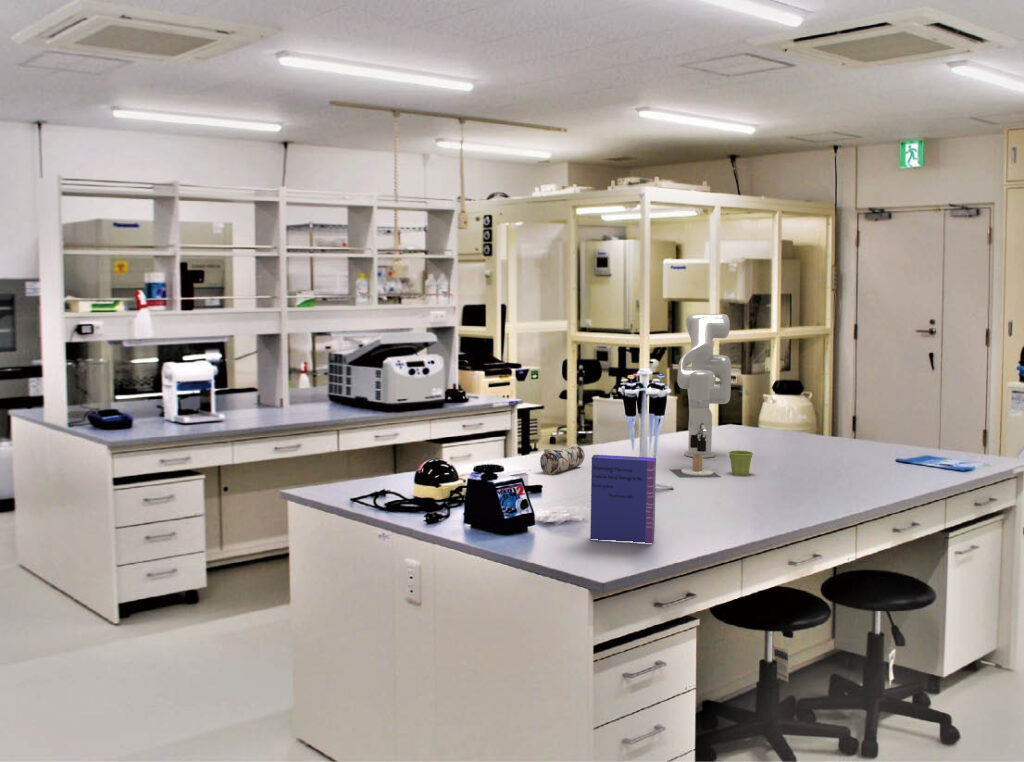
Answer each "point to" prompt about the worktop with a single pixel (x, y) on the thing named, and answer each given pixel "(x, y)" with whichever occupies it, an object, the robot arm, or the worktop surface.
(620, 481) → the blue hardcover book
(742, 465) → the plant pot
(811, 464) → the worktop surface
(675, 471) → the mat
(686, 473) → the lid
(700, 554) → the worktop surface
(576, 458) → the pencil case
